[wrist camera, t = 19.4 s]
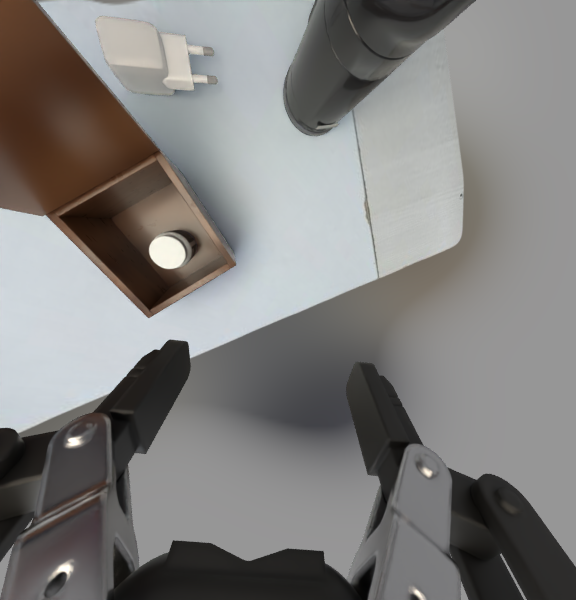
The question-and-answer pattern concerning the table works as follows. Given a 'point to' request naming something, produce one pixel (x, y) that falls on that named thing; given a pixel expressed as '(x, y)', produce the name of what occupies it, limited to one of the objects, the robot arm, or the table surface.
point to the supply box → (145, 232)
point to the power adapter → (149, 57)
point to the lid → (56, 116)
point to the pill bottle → (173, 249)
